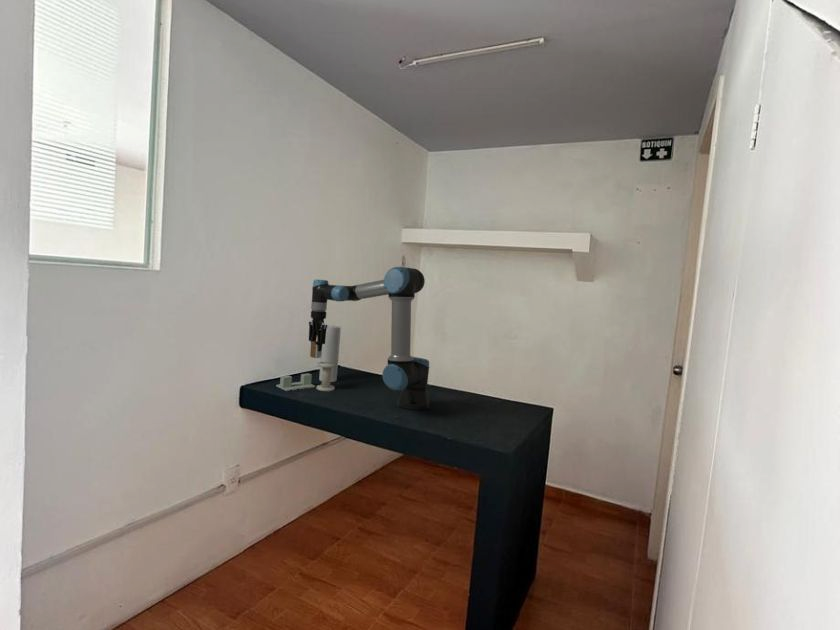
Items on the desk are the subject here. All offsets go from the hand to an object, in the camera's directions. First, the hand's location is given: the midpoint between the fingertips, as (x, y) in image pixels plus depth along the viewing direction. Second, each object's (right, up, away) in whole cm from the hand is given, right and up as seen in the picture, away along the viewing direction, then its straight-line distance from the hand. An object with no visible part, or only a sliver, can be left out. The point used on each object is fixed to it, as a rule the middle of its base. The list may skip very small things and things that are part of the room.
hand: (315, 356), depth 226 cm
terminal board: (-10, -15, 0) cm, 18 cm away
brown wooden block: (0, 0, 0) cm, 0 cm away
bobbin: (+5, -17, +2) cm, 17 cm away
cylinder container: (+2, -15, +20) cm, 25 cm away
